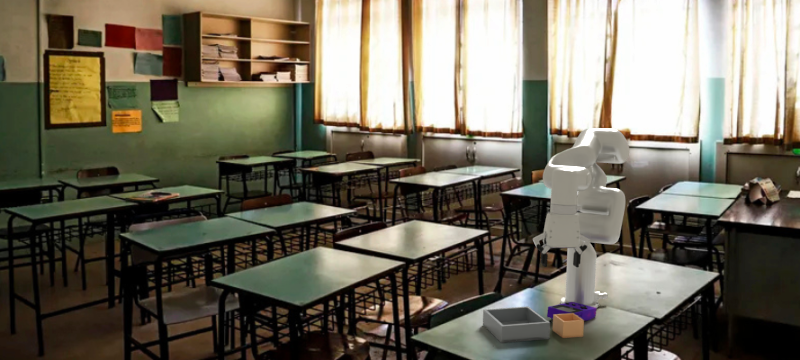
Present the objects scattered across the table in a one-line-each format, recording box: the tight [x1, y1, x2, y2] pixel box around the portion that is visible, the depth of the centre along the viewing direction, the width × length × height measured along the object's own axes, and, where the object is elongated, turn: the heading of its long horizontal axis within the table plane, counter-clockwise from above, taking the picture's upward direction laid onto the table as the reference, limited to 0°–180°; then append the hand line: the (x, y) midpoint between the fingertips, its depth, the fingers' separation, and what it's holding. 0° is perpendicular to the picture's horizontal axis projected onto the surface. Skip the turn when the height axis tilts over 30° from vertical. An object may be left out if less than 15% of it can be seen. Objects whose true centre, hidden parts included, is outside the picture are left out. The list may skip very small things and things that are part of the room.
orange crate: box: [552, 313, 585, 339], centre depth 203 cm, size 7×7×5 cm
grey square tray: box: [482, 305, 551, 344], centre depth 203 cm, size 15×15×5 cm
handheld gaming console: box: [546, 302, 598, 323], centre depth 216 cm, size 9×5×15 cm
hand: (560, 266), depth 203 cm, fingers open, 9 cm apart
